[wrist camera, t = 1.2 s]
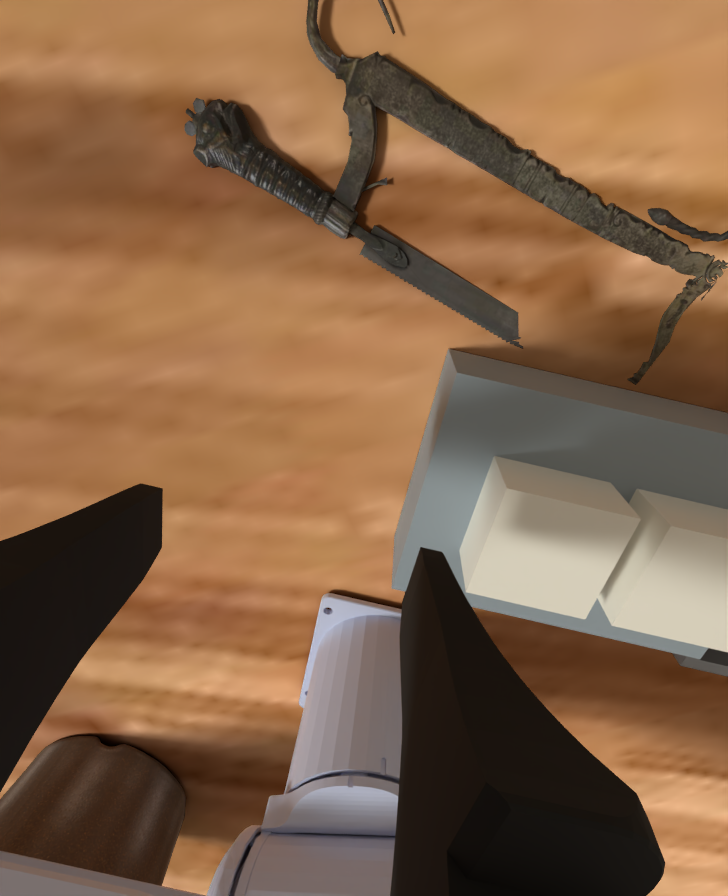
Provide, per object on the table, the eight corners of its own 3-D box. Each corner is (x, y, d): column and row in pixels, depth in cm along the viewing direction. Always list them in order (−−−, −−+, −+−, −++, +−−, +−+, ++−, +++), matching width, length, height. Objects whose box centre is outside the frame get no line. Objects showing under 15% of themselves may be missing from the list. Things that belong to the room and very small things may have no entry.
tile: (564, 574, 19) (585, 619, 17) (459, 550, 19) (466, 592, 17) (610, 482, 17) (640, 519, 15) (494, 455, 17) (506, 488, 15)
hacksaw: (185, 151, 18) (166, 144, 17) (296, -199, 14) (283, -248, 13) (668, 443, 21) (686, 457, 20) (876, 225, 17) (917, 223, 15)
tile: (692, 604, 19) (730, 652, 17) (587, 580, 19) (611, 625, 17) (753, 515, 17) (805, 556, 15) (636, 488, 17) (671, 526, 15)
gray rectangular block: (656, 595, 24) (700, 659, 20) (394, 535, 24) (391, 588, 20) (765, 421, 20) (845, 461, 16) (448, 348, 20) (456, 372, 16)
